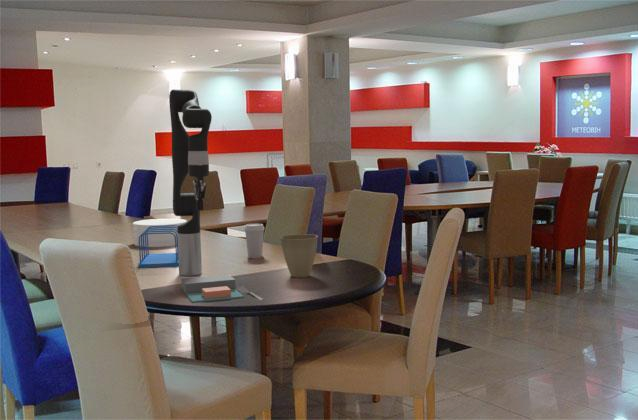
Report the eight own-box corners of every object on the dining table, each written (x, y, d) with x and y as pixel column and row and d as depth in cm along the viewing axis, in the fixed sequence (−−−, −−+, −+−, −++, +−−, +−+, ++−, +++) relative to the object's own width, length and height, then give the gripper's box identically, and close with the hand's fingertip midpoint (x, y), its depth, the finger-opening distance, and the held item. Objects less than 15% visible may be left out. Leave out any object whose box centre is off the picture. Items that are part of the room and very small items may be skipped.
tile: (205, 292, 239) (205, 298, 240) (230, 289, 243) (231, 296, 243) (201, 288, 245) (201, 295, 245) (226, 286, 248) (226, 292, 249)
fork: (264, 304, 234) (264, 299, 234) (235, 291, 255) (235, 286, 255) (273, 303, 236) (272, 297, 236) (243, 289, 257) (243, 285, 257)
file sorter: (146, 258, 325) (145, 225, 324) (184, 256, 327) (183, 224, 325) (138, 268, 301) (136, 233, 299) (178, 266, 302) (177, 232, 301)
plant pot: (315, 271, 287) (314, 233, 286) (321, 278, 273) (320, 238, 271) (279, 273, 285) (278, 234, 283) (283, 280, 270) (282, 239, 268)
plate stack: (170, 237, 390) (169, 217, 389) (197, 242, 370) (197, 221, 368) (124, 243, 371) (123, 222, 370) (150, 249, 351) (149, 226, 350)
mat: (186, 295, 248) (186, 293, 248) (235, 290, 254) (235, 289, 254) (192, 302, 237) (192, 301, 237) (243, 297, 243) (243, 296, 243)
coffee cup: (252, 259, 317) (252, 226, 315) (240, 256, 324) (239, 224, 322) (269, 256, 323) (268, 224, 322) (257, 254, 330) (256, 222, 329)
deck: (181, 289, 258) (181, 278, 257) (229, 284, 264) (228, 274, 263) (186, 294, 248) (185, 283, 248) (235, 290, 254) (235, 279, 254)
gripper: (185, 163, 261) (186, 208, 263) (191, 164, 249) (193, 212, 251) (205, 162, 264) (206, 207, 266) (212, 163, 251) (213, 211, 253)
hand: (200, 210), depth 258 cm, fingers closed
